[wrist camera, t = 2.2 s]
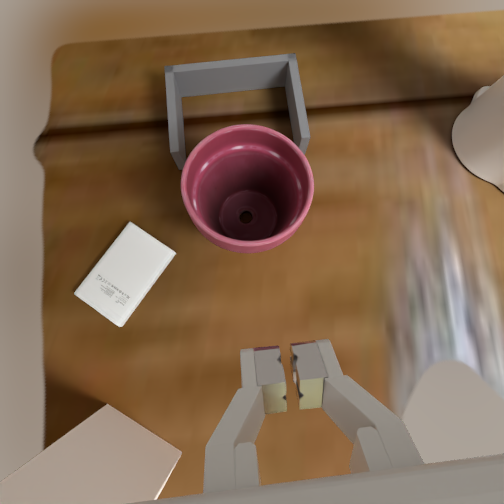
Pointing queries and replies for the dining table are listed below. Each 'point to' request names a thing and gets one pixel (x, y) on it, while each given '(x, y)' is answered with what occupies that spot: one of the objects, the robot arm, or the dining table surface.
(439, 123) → the dining table surface
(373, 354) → the dining table surface
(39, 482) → the milk
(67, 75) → the dining table surface
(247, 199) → the plant pot
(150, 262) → the external hard drive
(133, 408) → the dining table surface
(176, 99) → the frame
